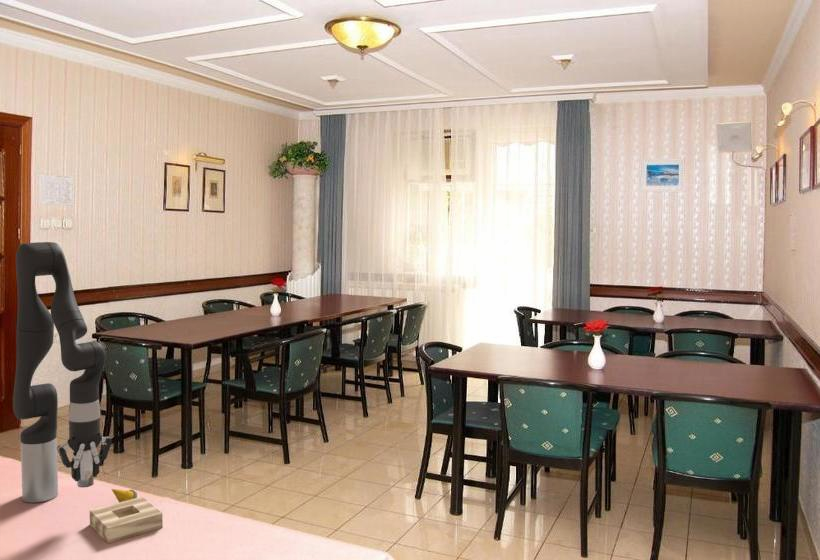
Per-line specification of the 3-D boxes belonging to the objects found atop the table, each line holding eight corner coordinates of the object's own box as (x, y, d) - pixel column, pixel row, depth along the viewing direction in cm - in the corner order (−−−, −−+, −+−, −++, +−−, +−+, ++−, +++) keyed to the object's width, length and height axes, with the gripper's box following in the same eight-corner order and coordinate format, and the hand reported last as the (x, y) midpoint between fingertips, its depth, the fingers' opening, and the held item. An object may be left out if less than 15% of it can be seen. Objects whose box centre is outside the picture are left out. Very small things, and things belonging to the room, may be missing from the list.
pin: (75, 483, 185) (74, 448, 183) (90, 480, 187) (90, 445, 186) (80, 488, 182) (79, 452, 181) (95, 485, 184) (95, 449, 183)
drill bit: (142, 510, 193) (117, 494, 187) (126, 515, 195) (101, 500, 188) (145, 493, 197) (121, 477, 191) (130, 499, 199) (106, 483, 192)
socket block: (89, 524, 183) (89, 510, 182) (142, 510, 192) (142, 496, 192) (108, 543, 172) (107, 528, 172) (162, 527, 182) (162, 513, 181)
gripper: (107, 408, 190) (107, 467, 192) (51, 417, 180) (52, 480, 182) (117, 415, 184) (117, 476, 186) (60, 425, 175) (61, 489, 177)
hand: (85, 477), depth 184 cm, fingers closed on pin, 4 cm apart
